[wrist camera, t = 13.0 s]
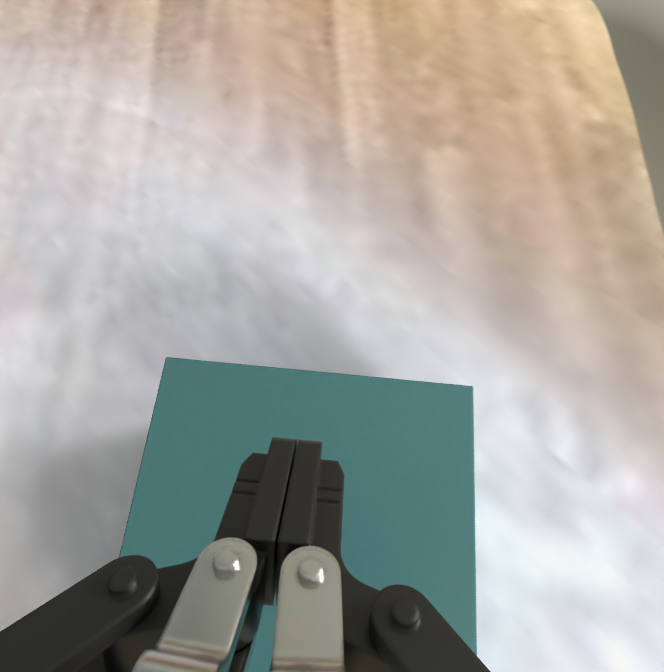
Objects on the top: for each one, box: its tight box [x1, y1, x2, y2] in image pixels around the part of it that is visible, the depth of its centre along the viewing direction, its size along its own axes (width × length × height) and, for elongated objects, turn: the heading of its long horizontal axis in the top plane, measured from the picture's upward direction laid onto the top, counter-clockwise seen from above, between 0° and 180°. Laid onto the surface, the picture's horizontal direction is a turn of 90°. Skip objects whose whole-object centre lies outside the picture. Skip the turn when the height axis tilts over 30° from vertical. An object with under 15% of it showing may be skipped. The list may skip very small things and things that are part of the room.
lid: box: [119, 357, 477, 672], centre depth 18 cm, size 17×15×1 cm
